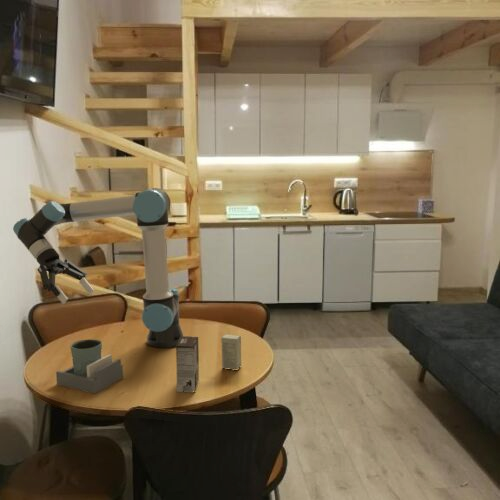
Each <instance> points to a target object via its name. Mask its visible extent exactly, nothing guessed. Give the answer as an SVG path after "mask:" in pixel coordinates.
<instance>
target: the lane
mask: <svg viewBox="0 0 500 500" xmlns="http://www.w3.org/2000/svg"><path fill="white" fill-rule="evenodd" d="M121 362H122V361H121V359H120V358H116V359H115V360H114V361H113V360H112V362H111V363H110V364H108V365H106V366H104V367H102V368H100V369H98V370H97V371H95V372H94V379H92V378H88V377H84V376H79V375H75V374H74V368H73V366H71V367H69V368H67V369H64V370H63V371H61V370H57V371H55V376H56V385H58V386H61V387H66V388H70V389H74V390H79V391H81V392H86V393H91V394H94V395H95V394H97V393H99V392H101V391H103V390H105V389H106V388H107V387H109V386H111V385H113V384H114V383H116V382H117V381H119V380H121V379H122V378H124V368H123V367H124V365H123V364H122V363H121Z"/></svg>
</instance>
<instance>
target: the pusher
mask: <svg viewBox="0 0 500 500" xmlns="http://www.w3.org/2000/svg"><path fill="white" fill-rule="evenodd" d="M111 362H113V355H112V354H111V353H110V354H107V355H106V356H105V355H104V356H103V357H101V359H99V360H97V361H95V362H93V363H91V364H89V365H87V377H88V378H92V379H94V372H95V371H97V370H98V369H100V368H102V367H104V366H106V365H108V364H110V363H111Z"/></svg>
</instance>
